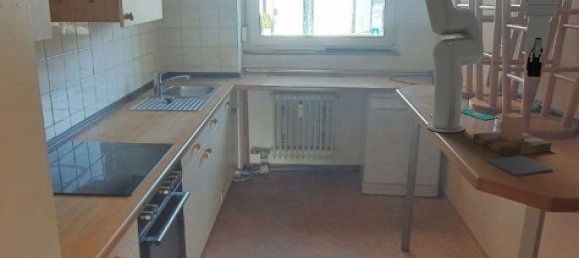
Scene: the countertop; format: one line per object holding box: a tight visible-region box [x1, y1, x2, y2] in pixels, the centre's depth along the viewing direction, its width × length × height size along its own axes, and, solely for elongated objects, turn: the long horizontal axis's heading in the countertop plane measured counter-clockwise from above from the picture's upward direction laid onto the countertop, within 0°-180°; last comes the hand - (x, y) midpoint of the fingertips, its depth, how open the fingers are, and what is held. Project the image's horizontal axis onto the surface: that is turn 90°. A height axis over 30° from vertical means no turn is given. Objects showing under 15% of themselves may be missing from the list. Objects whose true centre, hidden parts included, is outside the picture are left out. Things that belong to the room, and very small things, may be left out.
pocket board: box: [472, 130, 552, 157], centre depth 158 cm, size 16×16×2 cm
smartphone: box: [461, 108, 494, 121], centre depth 195 cm, size 7×1×15 cm
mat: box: [486, 154, 554, 177], centre depth 141 cm, size 12×12×1 cm
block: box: [500, 112, 526, 142], centre depth 157 cm, size 4×4×10 cm
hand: (532, 73), depth 140 cm, fingers open, 9 cm apart
